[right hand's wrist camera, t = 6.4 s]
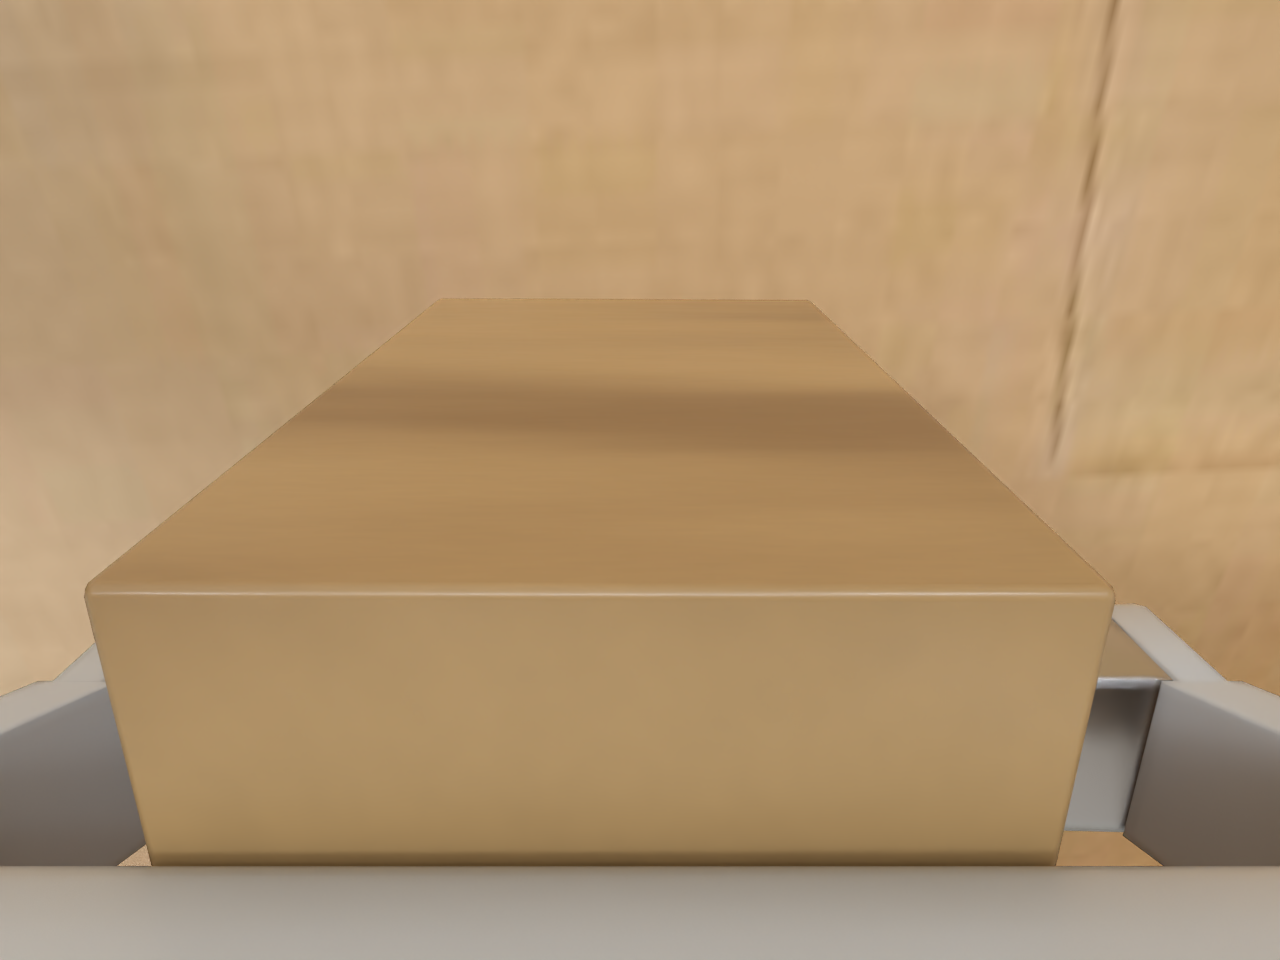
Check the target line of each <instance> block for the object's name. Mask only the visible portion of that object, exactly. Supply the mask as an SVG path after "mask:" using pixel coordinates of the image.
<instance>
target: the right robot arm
mask: <svg viewBox="0 0 1280 960" xmlns="http://www.w3.org/2000/svg"><path fill="white" fill-rule="evenodd" d="M1064 830H1066V831H1103V832H1124V833H1123V836H1124V837H1125V838H1127V839H1128V840H1129V841H1131V842H1132V843H1133V844H1135V845H1136V846H1138V847H1139V848H1140V849H1142V850H1143V851H1144V852H1146V853H1147V854H1148V855H1150V856H1151V857H1152V858H1154V859H1155V860H1156V861H1158V862H1159V863H1160V864H1162V865H1163V866H117V865H119V864H120V863H121V862H123V861H124V860H125V859H127V858H128V857H129V856H131V855H132V854H133V853H135V852H136V851H137V850H139V849H140V848H141V847H143V846H144V845H146V841H145V837H144V834H143V830H142V826H141V822H140V818H139V814H138V810H137V806H136V802H135V798H134V794H133V790H132V786H131V782H130V778H129V774H128V770H127V766H126V762H125V758H124V754H123V750H122V746H121V742H120V738H119V734H118V730H117V726H116V722H115V718H114V714H113V710H112V706H111V702H110V698H109V694H108V690H107V686H106V682H105V678H104V674H103V670H102V666H101V662H100V658H99V654H98V650H97V646H96V642H95V643H94V644H93V645H92V646H91V647H90V648H88V649H87V650H86V651H85V652H84V653H83V654H82V655H81V656H80V657H79V658H77V659H76V660H75V661H74V662H73V663H72V664H71V665H70V666H69V667H68V668H66V669H65V670H64V671H63V672H62V673H61V674H60V675H59V676H58V677H57V678H55V679H54V680H53V681H37V682H35V683H32V684H30V685H27V686H25V687H22V688H20V689H17V690H15V691H12V692H10V693H7V694H5V695H2V696H0V960H1280V696H1278V695H1275V694H1273V693H1270V692H1268V691H1265V690H1263V689H1260V688H1258V687H1255V686H1253V685H1250V684H1248V683H1246V682H1243V681H1227V680H1226V679H1225V678H1223V677H1222V676H1221V675H1220V674H1219V673H1218V672H1217V671H1216V670H1215V669H1214V668H1213V667H1211V666H1210V665H1209V664H1208V663H1207V662H1206V661H1205V660H1204V659H1203V658H1202V657H1200V656H1199V655H1198V654H1197V653H1196V652H1195V651H1194V650H1193V649H1192V648H1191V647H1189V646H1188V645H1187V644H1186V643H1185V642H1184V641H1183V640H1182V639H1181V638H1180V637H1179V636H1177V635H1176V634H1175V633H1174V632H1173V631H1172V630H1171V629H1170V628H1169V627H1168V626H1166V625H1165V624H1164V623H1163V622H1162V621H1161V620H1160V619H1159V618H1158V617H1157V616H1156V615H1154V614H1153V613H1152V612H1151V611H1150V610H1149V609H1148V608H1147V607H1144V606H1141V605H1138V604H1115V605H1114V609H1113V614H1112V618H1111V623H1110V627H1109V632H1108V636H1107V640H1106V645H1105V649H1104V654H1103V658H1102V663H1101V667H1100V672H1099V676H1098V680H1097V685H1096V689H1095V694H1094V698H1093V703H1092V707H1091V711H1090V716H1089V720H1088V725H1087V729H1086V734H1085V738H1084V742H1083V747H1082V751H1081V756H1080V760H1079V765H1078V769H1077V774H1076V778H1075V782H1074V787H1073V791H1072V796H1071V800H1070V805H1069V809H1068V813H1067V818H1066V822H1065V827H1064Z"/></svg>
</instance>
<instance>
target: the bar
mask: <svg viewBox="0 0 1280 960" xmlns="http://www.w3.org/2000/svg"><path fill="white" fill-rule="evenodd" d="M84 599H85V603H86V607H87V610H88V614H89V618H90V622H91V626H92V630H93V634H94V638H95V642H96V646H97V650H98V654H99V658H100V662H101V666H102V670H103V674H104V678H105V682H106V686H107V690H108V694H109V698H110V702H111V706H112V710H113V714H114V718H115V722H116V726H117V730H118V734H119V738H120V742H121V746H122V750H123V754H124V758H125V762H126V766H127V770H128V774H129V778H130V782H131V786H132V790H133V794H134V798H135V802H136V806H137V810H138V814H139V818H140V822H141V826H142V830H143V834H144V837H145V841H146V845H147V849H148V853H149V857H150V861H151V865H152V866H1056V862H1057V858H1058V853H1059V849H1060V844H1061V840H1062V836H1063V831H1064V827H1065V822H1066V818H1067V813H1068V809H1069V805H1070V800H1071V796H1072V791H1073V787H1074V782H1075V778H1076V774H1077V769H1078V765H1079V760H1080V756H1081V751H1082V747H1083V742H1084V738H1085V734H1086V729H1087V725H1088V720H1089V716H1090V711H1091V707H1092V703H1093V698H1094V694H1095V689H1096V685H1097V680H1098V676H1099V672H1100V667H1101V663H1102V658H1103V654H1104V649H1105V645H1106V640H1107V636H1108V632H1109V627H1110V623H1111V618H1112V614H1113V609H1114V605H1115V595H1114V590H1113V588H1112V586H1111V585H1110V584H1109V583H1108V582H1107V581H1106V580H1105V579H1104V578H1102V577H1101V576H1100V575H1099V574H1098V573H1097V572H1096V571H1095V570H1094V569H1093V568H1092V567H1091V566H1090V565H1089V564H1088V563H1087V562H1086V561H1084V560H1083V559H1082V558H1081V557H1080V556H1079V555H1078V554H1077V553H1076V552H1075V551H1074V550H1073V549H1072V548H1071V547H1070V546H1069V545H1068V544H1067V543H1065V542H1064V541H1063V540H1062V539H1061V538H1060V537H1059V536H1058V535H1057V534H1056V533H1055V532H1054V531H1053V530H1052V529H1051V528H1050V527H1049V526H1047V525H1046V524H1045V523H1044V522H1043V521H1042V520H1041V519H1040V518H1039V517H1038V516H1037V515H1036V514H1035V513H1034V512H1033V511H1032V510H1031V509H1030V508H1028V507H1027V506H1026V505H1025V504H1024V503H1023V502H1022V501H1021V500H1020V499H1019V498H1018V497H1017V496H1016V495H1015V494H1014V493H1013V492H1012V491H1010V490H1009V489H1008V488H1007V487H1006V486H1005V485H1004V484H1003V483H1002V482H1001V481H1000V480H999V479H998V478H997V477H996V476H995V475H994V474H993V473H991V472H990V471H989V470H988V469H987V468H986V467H985V466H984V465H983V464H982V463H981V462H980V461H979V460H978V459H977V458H976V457H975V456H973V455H972V454H971V453H970V452H969V451H968V450H967V449H966V448H965V447H964V446H963V445H962V444H961V443H960V442H959V441H958V440H957V439H956V438H954V437H953V436H952V435H951V434H950V433H949V432H948V431H947V430H946V429H945V428H944V427H943V426H942V425H941V424H940V423H939V422H938V421H936V420H935V419H934V418H933V417H932V416H931V415H930V414H929V413H928V412H927V411H926V410H925V409H924V408H923V407H922V406H921V405H920V404H919V403H917V402H916V401H915V400H914V399H913V398H912V397H911V396H910V395H909V394H908V393H907V392H906V391H905V390H904V389H903V388H902V387H901V386H899V385H898V384H897V383H896V382H895V381H894V380H893V379H892V378H891V377H890V376H889V375H888V374H887V373H886V372H885V371H884V370H883V369H882V368H880V367H879V366H878V365H877V364H876V363H875V362H874V361H873V360H872V359H871V358H870V357H869V356H868V355H867V354H866V353H865V352H864V351H862V350H861V349H860V348H859V347H858V346H857V345H856V344H855V343H854V342H853V341H852V340H851V339H850V338H849V337H848V336H847V335H846V334H845V333H843V332H842V331H841V330H840V329H839V328H838V327H837V326H836V325H835V324H834V323H833V322H832V321H831V320H830V319H829V318H828V317H827V316H825V315H824V314H823V313H822V312H821V311H820V310H819V309H818V308H817V307H816V306H815V305H814V304H813V303H812V302H810V301H808V300H648V299H440V300H438V301H437V302H435V303H434V304H433V305H432V306H430V307H429V308H428V309H427V310H425V311H424V312H423V313H422V314H420V315H419V316H418V317H417V318H416V319H414V320H413V321H412V322H411V323H409V324H408V325H407V326H406V327H404V328H403V329H402V330H401V331H399V332H398V333H397V334H396V335H394V336H393V337H392V338H391V339H390V340H388V341H387V342H386V343H385V344H383V345H382V346H381V347H380V348H378V349H377V350H376V351H375V352H373V353H372V354H371V355H370V356H368V357H367V358H366V359H365V360H364V361H362V362H361V363H360V364H359V365H357V366H356V367H355V368H354V369H352V370H351V371H350V372H349V373H347V374H346V375H345V376H344V377H342V378H341V379H340V380H339V381H338V382H336V383H335V384H334V385H333V386H331V387H330V388H329V389H328V390H326V391H325V392H324V393H323V394H321V395H320V396H319V397H318V398H316V399H315V400H314V401H313V402H312V403H310V404H309V405H308V406H307V407H305V408H304V409H303V410H302V411H300V412H299V413H298V414H297V415H295V416H294V417H293V418H292V419H291V420H289V421H288V422H287V423H286V424H284V425H283V426H282V427H281V428H279V429H278V430H277V431H276V432H274V433H273V434H272V435H271V436H269V437H268V438H267V439H266V440H265V441H263V442H262V443H261V444H260V445H258V446H257V447H256V448H255V449H253V450H252V451H251V452H250V453H248V454H247V455H246V456H245V457H243V458H242V459H241V460H240V461H239V462H237V463H236V464H235V465H234V466H232V467H231V468H230V469H229V470H227V471H226V472H225V473H224V474H222V475H221V476H220V477H219V478H217V479H216V480H215V481H214V482H213V483H211V484H210V485H209V486H208V487H206V488H205V489H204V490H203V491H201V492H200V493H199V494H198V495H196V496H195V497H194V498H193V499H191V500H190V501H189V502H188V503H187V504H185V505H184V506H183V507H182V508H180V509H179V510H178V511H177V512H175V513H174V514H173V515H172V516H170V517H169V518H168V519H167V520H165V521H164V522H163V523H162V524H161V525H159V526H158V527H157V528H156V529H154V530H153V531H152V532H151V533H149V534H148V535H147V536H146V537H144V538H143V539H142V540H141V541H140V542H138V543H137V544H136V545H135V546H133V547H132V548H131V549H130V550H128V551H127V552H126V553H125V554H123V555H122V556H121V557H120V558H118V559H117V560H116V561H115V562H114V563H112V564H111V565H110V566H109V567H107V568H106V569H105V570H104V571H102V572H101V573H100V574H99V575H97V576H96V577H95V578H94V579H92V580H91V581H90V582H89V583H88V584H87V586H86V589H85V595H84Z"/></svg>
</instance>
